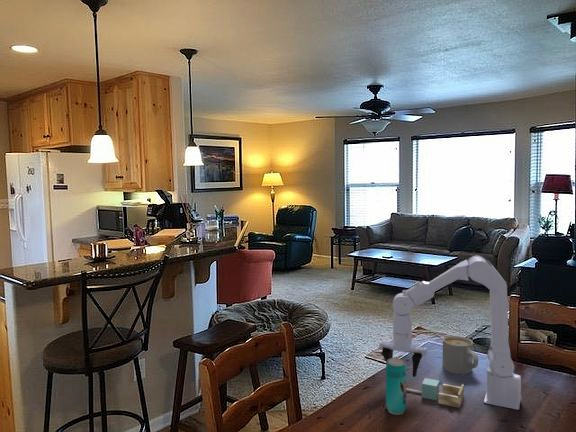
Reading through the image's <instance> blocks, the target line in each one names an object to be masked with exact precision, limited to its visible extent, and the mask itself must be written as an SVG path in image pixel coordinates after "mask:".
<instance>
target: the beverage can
mask: <svg viewBox="0 0 576 432" xmlns="http://www.w3.org/2000/svg"><path fill="white" fill-rule="evenodd" d="M385 364H386V365H385V405H386V406H385V407H386V409H387V411H388V413H390V414H392V415H393V416H394V415H395V416H401V415H403V414H404V412H405V411H406V408H407V391H406V388H407V365H406V360H404V359H402V358H399V357H398V358H397V357H393V358H390V359H388V360H387V363H385Z"/></svg>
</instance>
